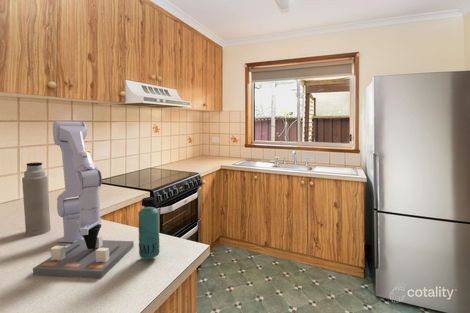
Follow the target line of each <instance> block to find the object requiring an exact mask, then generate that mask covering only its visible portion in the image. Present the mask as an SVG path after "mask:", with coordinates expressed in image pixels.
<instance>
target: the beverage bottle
mask: <svg viewBox="0 0 470 313" xmlns="http://www.w3.org/2000/svg"><path fill="white" fill-rule="evenodd" d="M155 205H156V199H155V197H153V196H147V197H143V198H142V199H141V206H142V207H143V208H141V209H140V210H139V211H138V213H137V215H138V220H137V222H138V224H137V226H138V254H139V257H140V258H141V259H144V260H145V259H146V260H148V259H154V258H157V256H160V255H159V254H160V219H159V217H160V211H159V210H158V209H157V208H156V207H153V206H155Z"/></svg>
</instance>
